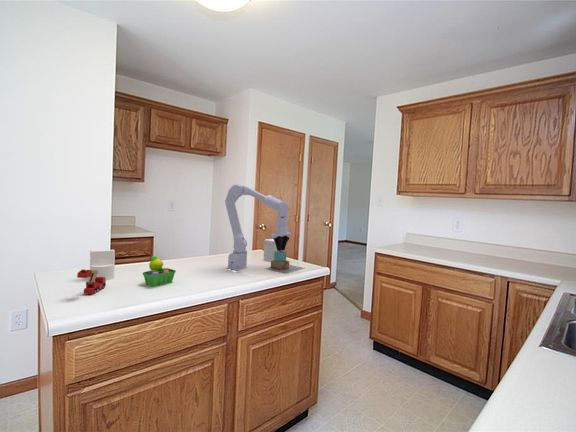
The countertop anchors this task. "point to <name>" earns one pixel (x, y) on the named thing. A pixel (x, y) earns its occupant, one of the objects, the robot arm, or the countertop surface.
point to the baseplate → (291, 269)
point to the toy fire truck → (92, 281)
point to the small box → (269, 249)
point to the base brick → (280, 265)
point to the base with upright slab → (103, 263)
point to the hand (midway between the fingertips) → (280, 250)
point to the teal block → (280, 256)
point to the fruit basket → (158, 273)
